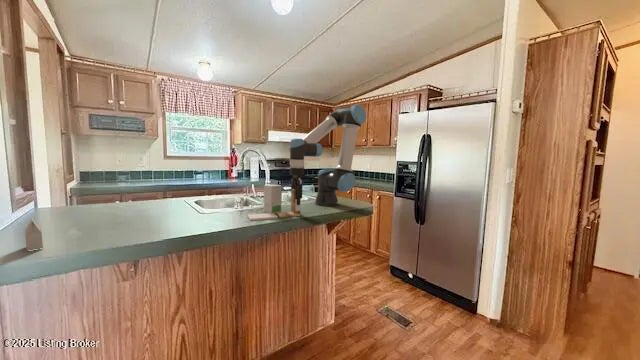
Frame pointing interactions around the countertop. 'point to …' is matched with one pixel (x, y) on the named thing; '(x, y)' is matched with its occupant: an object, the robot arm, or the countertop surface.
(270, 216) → the mat
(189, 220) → the countertop surface
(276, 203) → the skincare box
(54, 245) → the countertop surface
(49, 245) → the countertop surface
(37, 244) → the tea bag
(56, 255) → the countertop surface
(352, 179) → the robot arm
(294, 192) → the wooden bracket
